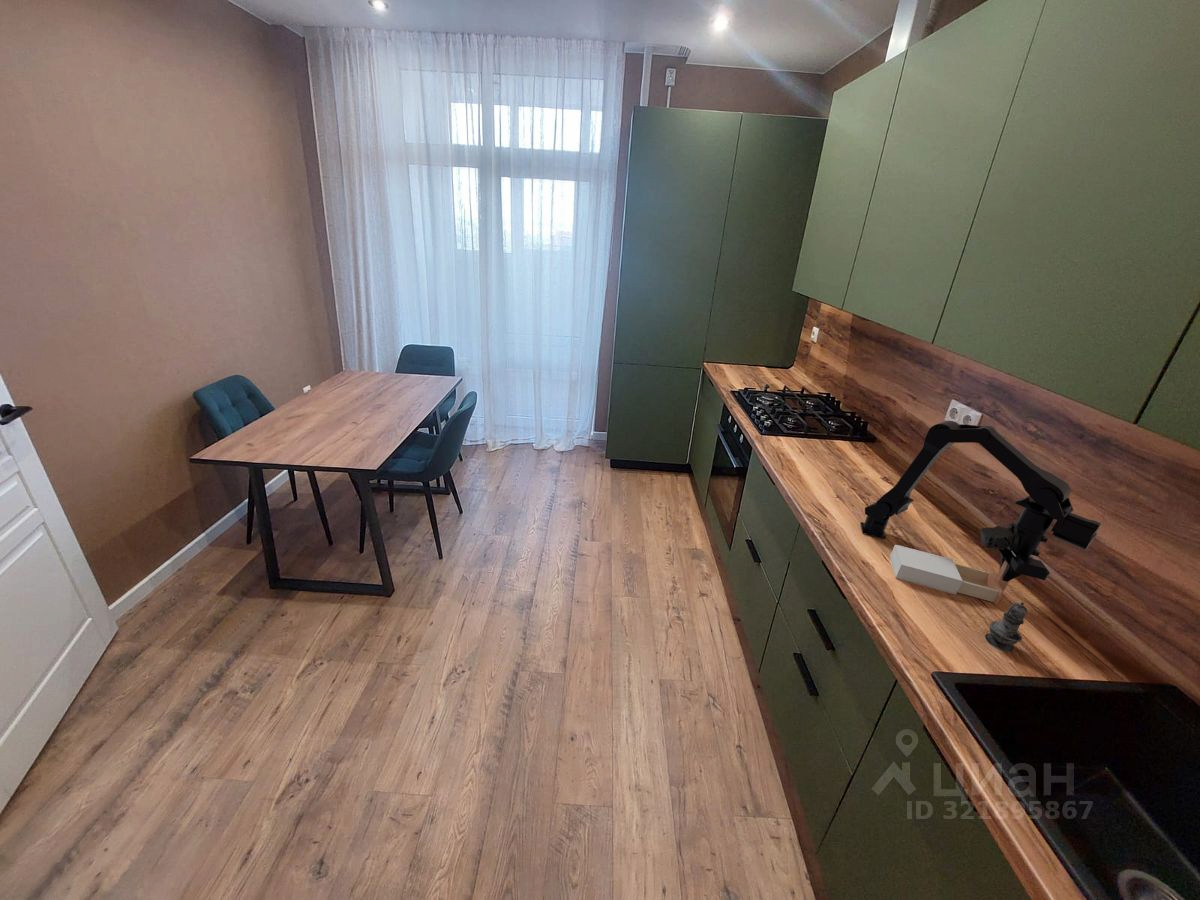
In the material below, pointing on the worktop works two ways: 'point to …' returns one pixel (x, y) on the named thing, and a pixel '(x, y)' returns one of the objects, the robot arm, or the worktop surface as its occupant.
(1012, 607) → the grey figurine
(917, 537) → the worktop surface
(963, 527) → the worktop surface
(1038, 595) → the worktop surface
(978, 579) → the mailer tray
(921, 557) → the sleeve
